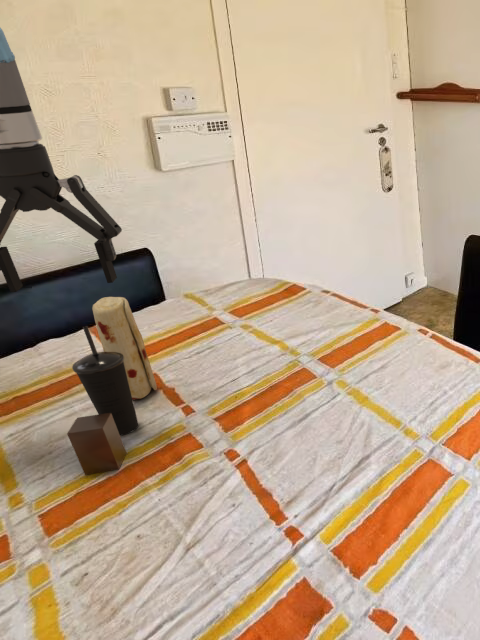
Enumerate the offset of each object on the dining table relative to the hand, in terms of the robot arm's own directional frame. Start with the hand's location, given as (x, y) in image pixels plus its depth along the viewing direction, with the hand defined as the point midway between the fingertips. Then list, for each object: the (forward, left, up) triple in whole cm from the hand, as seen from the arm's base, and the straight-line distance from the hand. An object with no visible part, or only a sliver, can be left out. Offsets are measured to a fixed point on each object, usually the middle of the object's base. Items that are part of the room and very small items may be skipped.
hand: (65, 285), depth 100 cm
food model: (-5, +12, -27) cm, 30 cm away
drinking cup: (+1, 0, -27) cm, 27 cm away
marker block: (+5, -11, -27) cm, 30 cm away
